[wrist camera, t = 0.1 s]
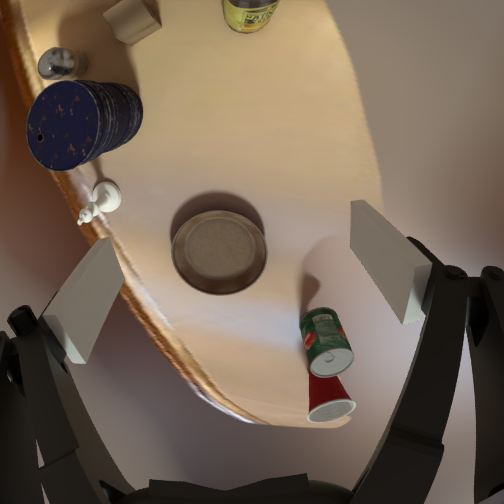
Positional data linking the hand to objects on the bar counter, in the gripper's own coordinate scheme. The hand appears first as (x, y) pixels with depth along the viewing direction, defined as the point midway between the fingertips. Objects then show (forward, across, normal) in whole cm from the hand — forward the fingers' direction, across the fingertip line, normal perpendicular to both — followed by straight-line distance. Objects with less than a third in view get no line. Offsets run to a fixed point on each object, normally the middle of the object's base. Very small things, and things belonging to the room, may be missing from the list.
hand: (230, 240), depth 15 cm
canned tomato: (+28, +12, -34) cm, 46 cm away
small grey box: (+28, -10, +22) cm, 37 cm away
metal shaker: (+28, -21, +19) cm, 40 cm away
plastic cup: (+28, +13, -51) cm, 60 cm away
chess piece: (+28, -20, -3) cm, 35 cm away
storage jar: (+28, -16, +9) cm, 34 cm away
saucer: (+28, -4, -15) cm, 32 cm away
